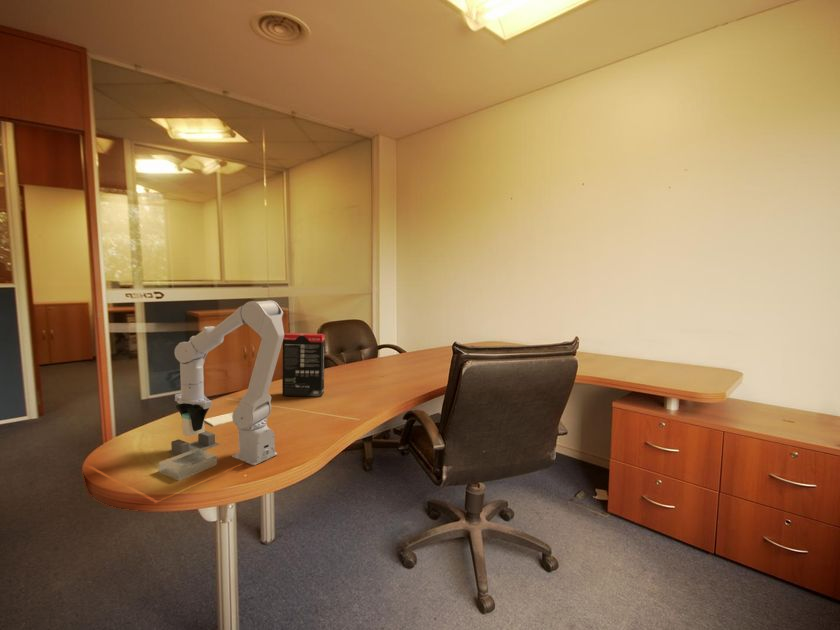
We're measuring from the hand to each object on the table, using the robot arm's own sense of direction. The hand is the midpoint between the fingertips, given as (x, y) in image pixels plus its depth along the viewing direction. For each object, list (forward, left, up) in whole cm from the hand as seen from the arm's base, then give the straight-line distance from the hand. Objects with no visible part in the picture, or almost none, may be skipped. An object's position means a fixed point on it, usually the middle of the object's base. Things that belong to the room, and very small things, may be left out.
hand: (193, 428), depth 112 cm
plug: (0, 0, -1) cm, 1 cm away
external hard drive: (+14, -20, -7) cm, 25 cm away
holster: (0, 0, -6) cm, 6 cm away
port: (-11, +8, -6) cm, 15 cm away
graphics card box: (+14, -57, -6) cm, 59 cm away
